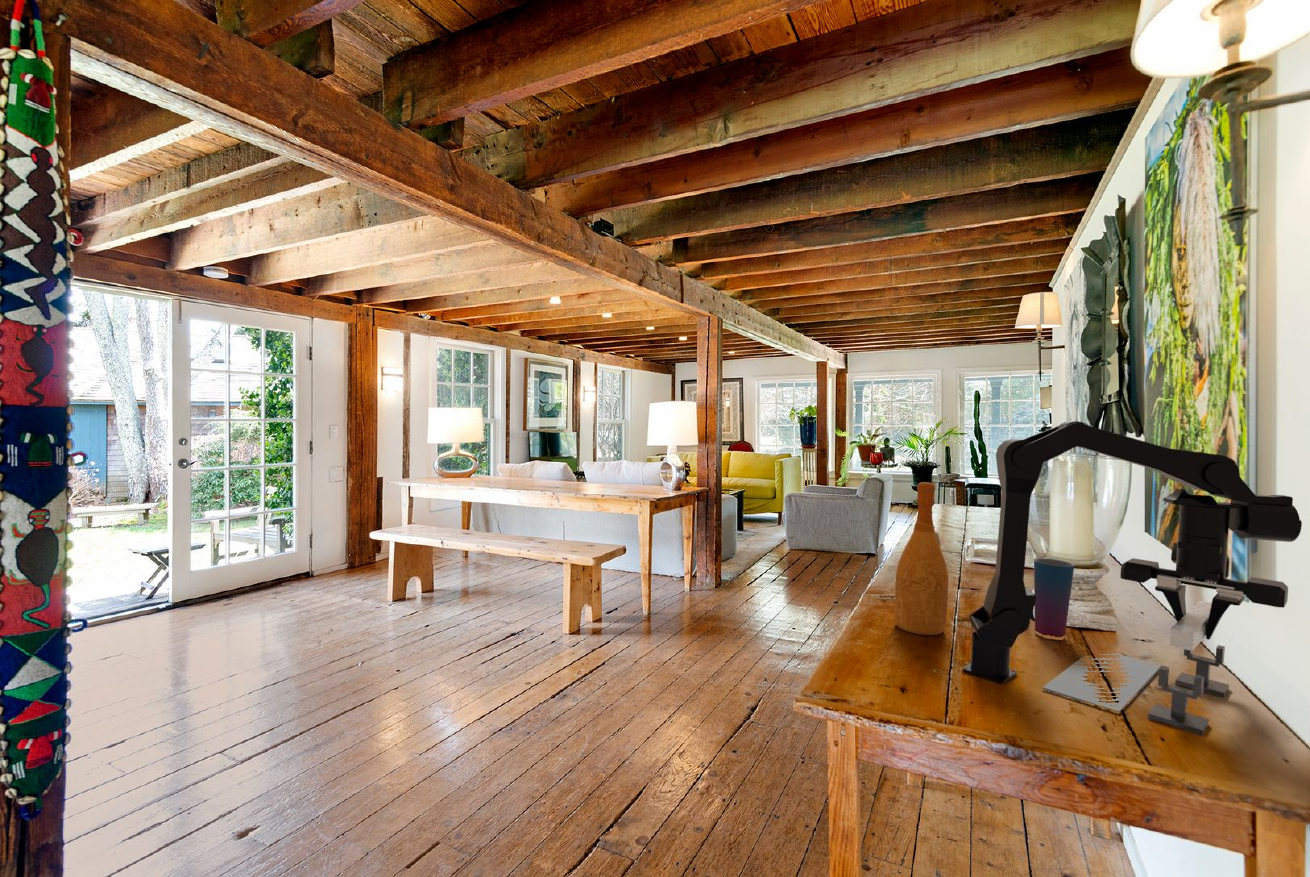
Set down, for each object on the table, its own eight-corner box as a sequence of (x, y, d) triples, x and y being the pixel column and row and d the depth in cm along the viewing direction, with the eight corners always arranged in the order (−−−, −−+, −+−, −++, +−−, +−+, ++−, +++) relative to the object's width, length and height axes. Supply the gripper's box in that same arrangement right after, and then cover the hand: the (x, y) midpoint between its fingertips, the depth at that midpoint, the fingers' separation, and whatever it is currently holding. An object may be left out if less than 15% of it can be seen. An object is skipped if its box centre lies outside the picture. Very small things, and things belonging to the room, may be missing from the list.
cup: (1076, 643, 120) (1080, 567, 119) (1037, 640, 121) (1042, 564, 121) (1060, 632, 127) (1065, 559, 126) (1024, 628, 128) (1028, 557, 127)
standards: (1202, 735, 85) (1205, 684, 85) (1147, 718, 90) (1151, 669, 90) (1228, 689, 101) (1231, 645, 101) (1181, 676, 106) (1183, 635, 105)
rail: (1192, 651, 87) (1193, 633, 86) (1169, 645, 88) (1170, 628, 88) (1219, 619, 102) (1220, 604, 101) (1199, 615, 103) (1200, 600, 103)
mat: (1119, 714, 91) (1119, 711, 91) (1042, 690, 98) (1042, 687, 98) (1161, 668, 109) (1161, 665, 109) (1094, 650, 117) (1094, 648, 117)
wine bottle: (952, 639, 120) (960, 486, 119) (899, 635, 122) (906, 483, 121) (937, 623, 130) (944, 480, 129) (888, 619, 132) (895, 478, 130)
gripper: (1294, 540, 93) (1287, 643, 93) (1139, 521, 107) (1133, 610, 107) (1287, 549, 85) (1279, 660, 86) (1122, 527, 99) (1116, 623, 100)
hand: (1195, 636), depth 95 cm, fingers closed on rail, 2 cm apart
